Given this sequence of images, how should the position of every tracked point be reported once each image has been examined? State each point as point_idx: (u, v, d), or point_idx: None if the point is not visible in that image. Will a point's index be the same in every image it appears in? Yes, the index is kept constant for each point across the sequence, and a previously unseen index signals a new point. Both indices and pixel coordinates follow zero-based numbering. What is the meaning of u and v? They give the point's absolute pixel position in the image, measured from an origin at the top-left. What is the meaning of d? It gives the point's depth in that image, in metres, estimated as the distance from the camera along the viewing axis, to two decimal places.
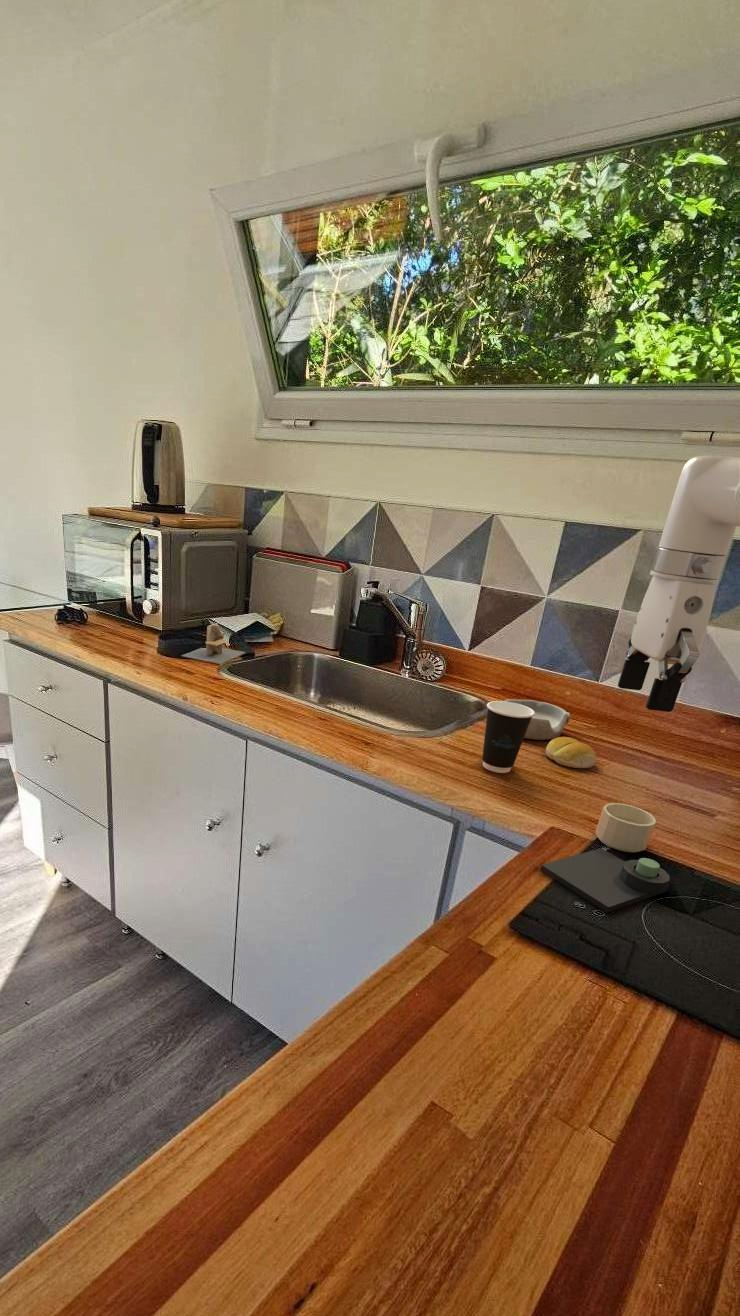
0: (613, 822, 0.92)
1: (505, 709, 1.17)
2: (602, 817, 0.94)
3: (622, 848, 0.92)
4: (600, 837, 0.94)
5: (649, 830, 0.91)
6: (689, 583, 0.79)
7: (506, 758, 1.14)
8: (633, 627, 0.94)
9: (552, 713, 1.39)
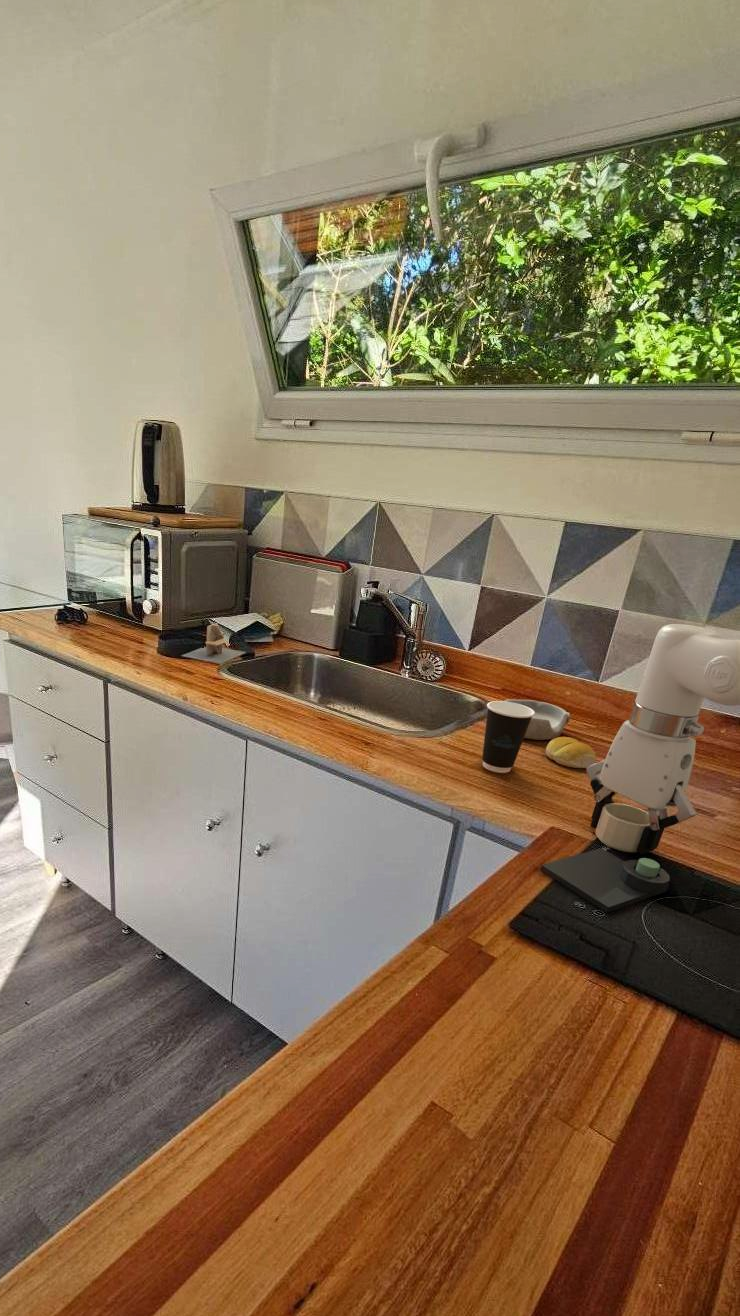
0: (613, 822, 0.92)
1: (505, 709, 1.17)
2: (602, 817, 0.94)
3: (622, 848, 0.92)
4: (600, 837, 0.94)
5: None
6: (683, 744, 0.85)
7: (506, 758, 1.14)
8: (589, 769, 0.97)
9: (552, 713, 1.39)
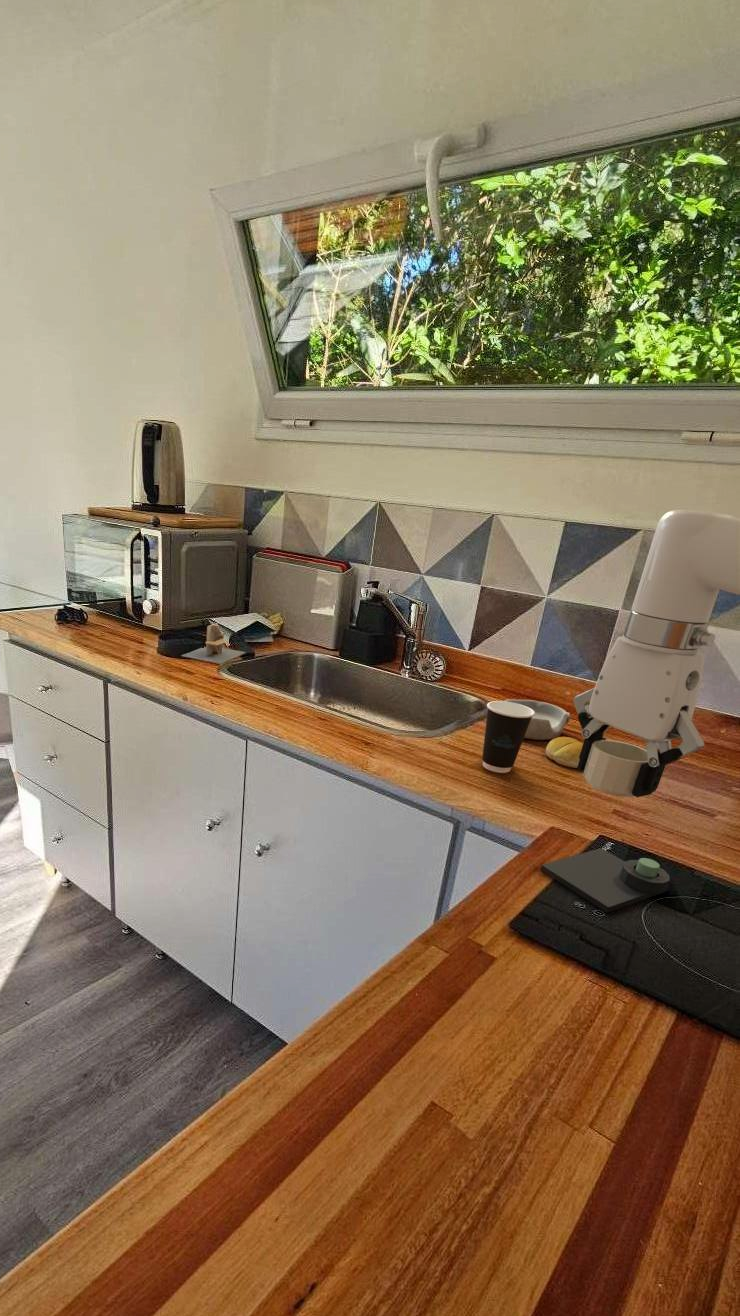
0: (604, 759, 0.77)
1: (505, 709, 1.17)
2: (591, 755, 0.79)
3: (614, 790, 0.77)
4: (588, 779, 0.79)
5: None
6: (689, 657, 0.69)
7: (506, 758, 1.14)
8: (577, 701, 0.82)
9: (552, 713, 1.39)
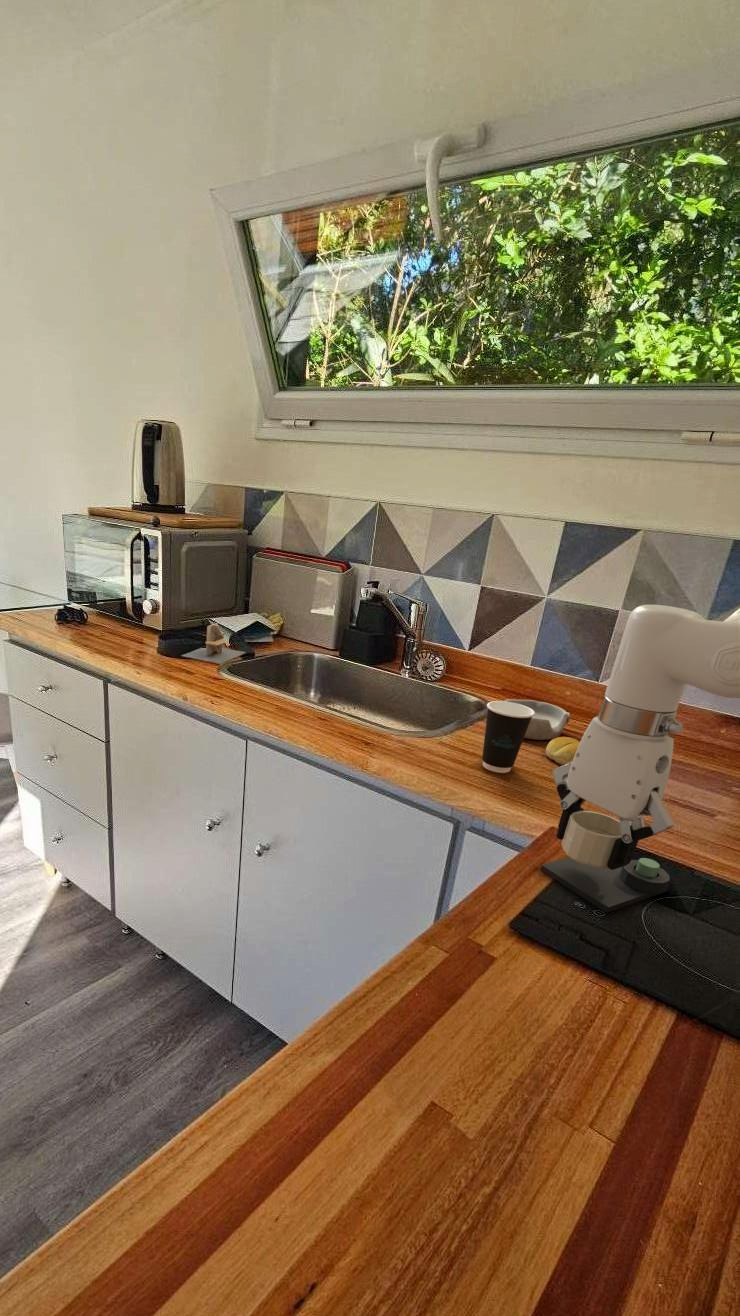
0: (580, 833, 0.80)
1: (505, 709, 1.17)
2: (568, 827, 0.83)
3: (590, 863, 0.81)
4: (566, 850, 0.83)
5: None
6: (659, 744, 0.73)
7: (506, 758, 1.14)
8: (556, 772, 0.86)
9: (552, 713, 1.39)
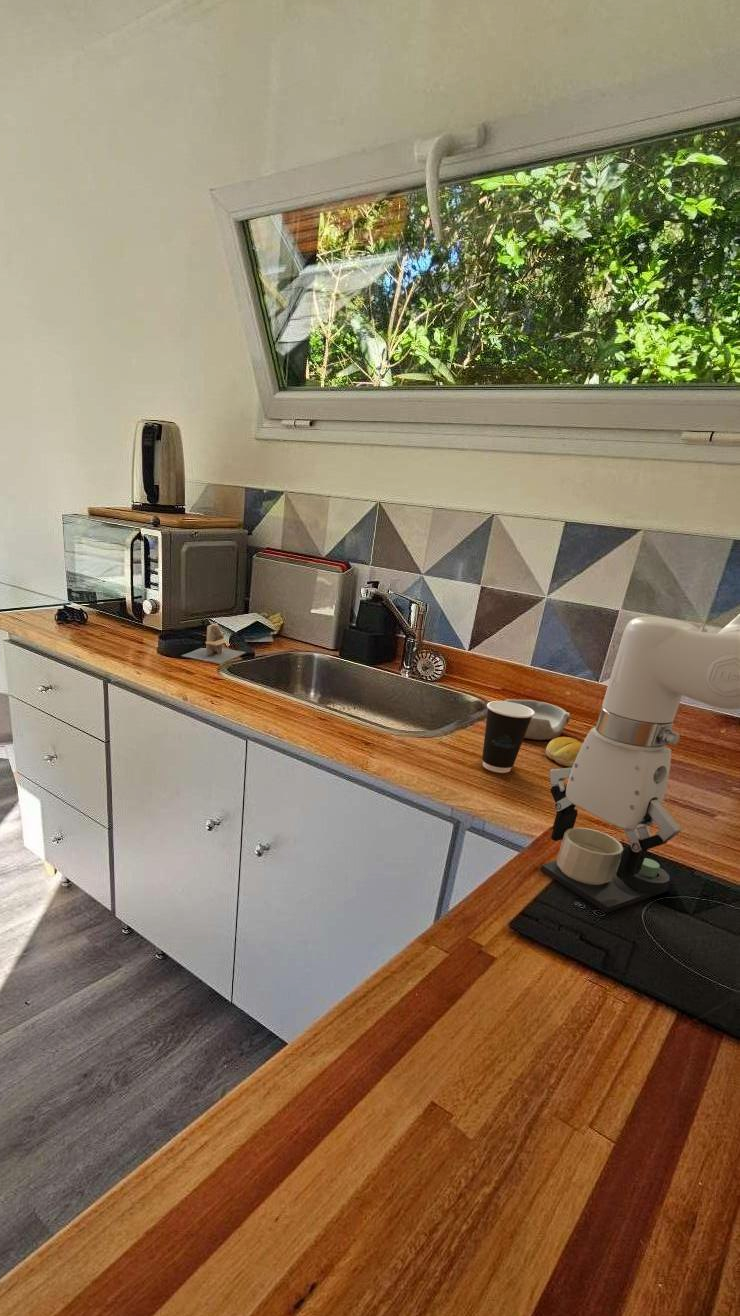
0: (574, 850, 0.81)
1: (505, 709, 1.17)
2: (563, 844, 0.84)
3: (585, 880, 0.82)
4: (561, 866, 0.84)
5: (615, 860, 0.81)
6: (656, 754, 0.73)
7: (506, 758, 1.14)
8: (552, 774, 0.86)
9: (552, 713, 1.39)
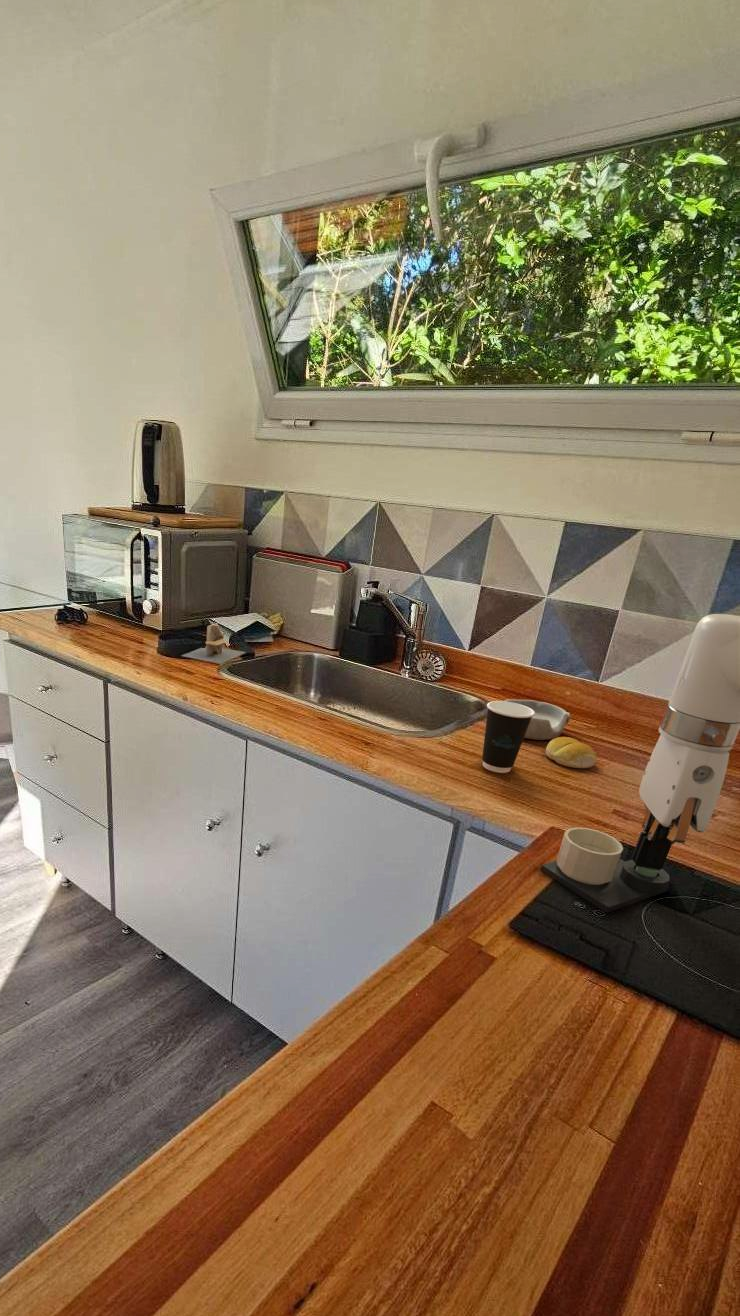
0: (574, 850, 0.81)
1: (505, 709, 1.17)
2: (563, 844, 0.84)
3: (585, 880, 0.82)
4: (561, 866, 0.84)
5: (615, 860, 0.81)
6: (699, 751, 0.72)
7: (506, 758, 1.14)
8: None
9: (552, 713, 1.39)
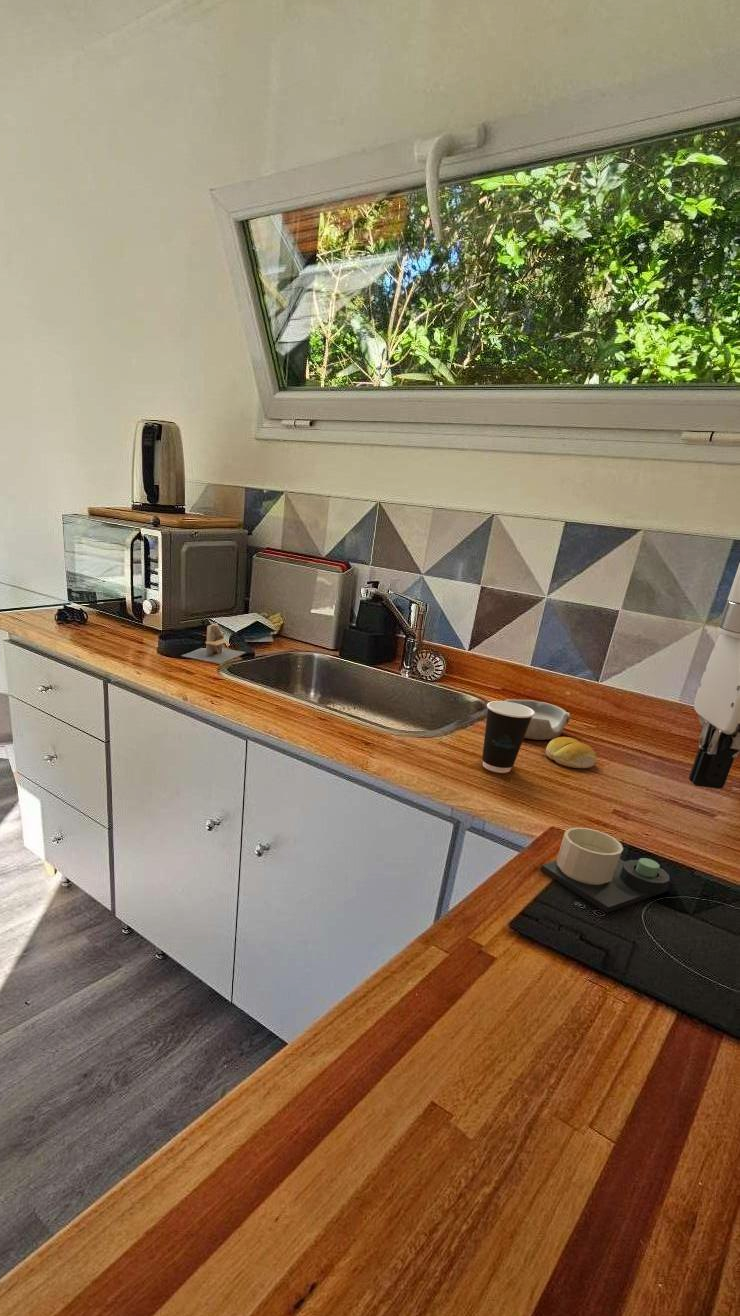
0: (574, 850, 0.81)
1: (505, 709, 1.17)
2: (563, 844, 0.84)
3: (585, 880, 0.82)
4: (561, 866, 0.84)
5: (615, 860, 0.81)
6: None
7: (506, 758, 1.14)
8: (701, 717, 0.78)
9: (552, 713, 1.39)
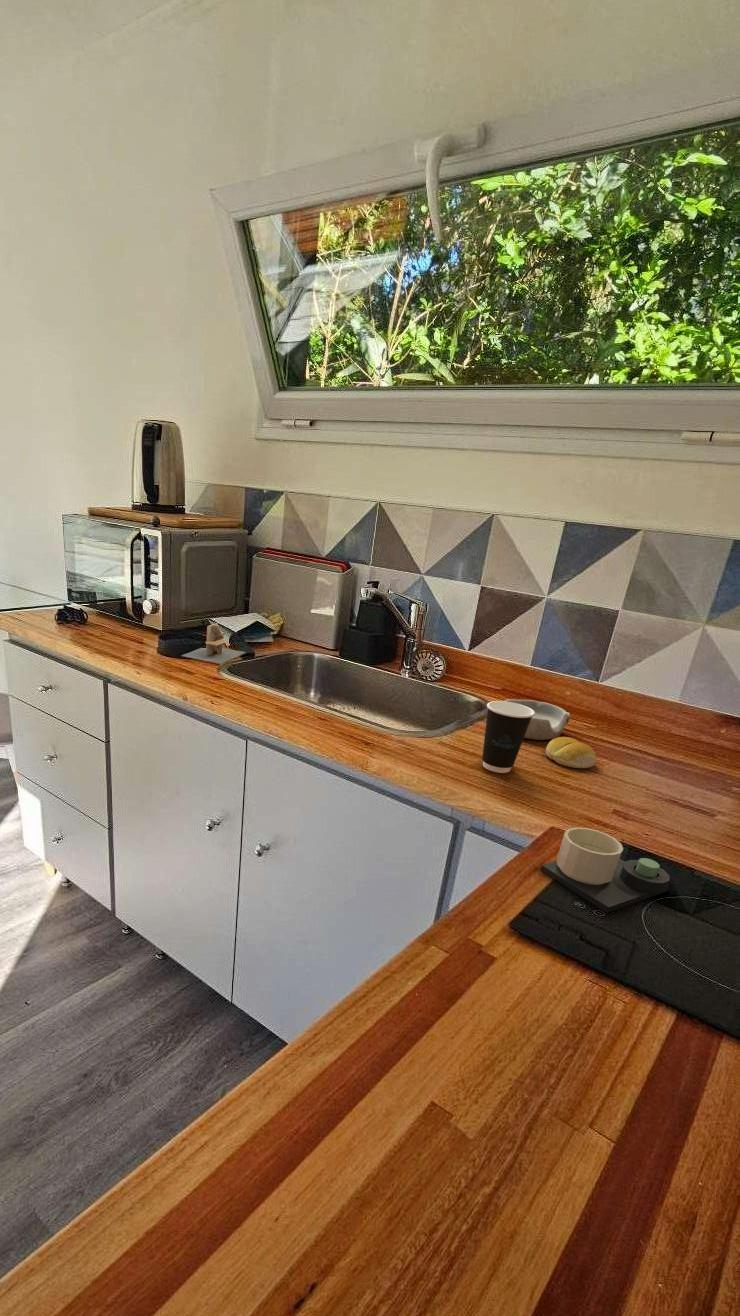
0: (574, 850, 0.81)
1: (505, 709, 1.17)
2: (563, 844, 0.84)
3: (585, 880, 0.82)
4: (561, 866, 0.84)
5: (615, 860, 0.81)
6: None
7: (506, 758, 1.14)
8: None
9: (552, 713, 1.39)
